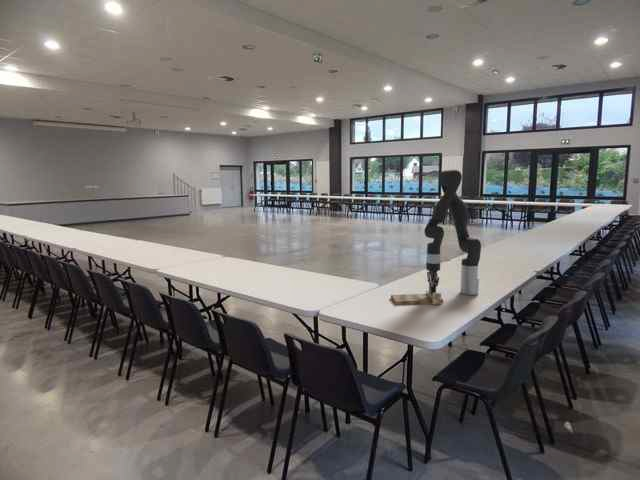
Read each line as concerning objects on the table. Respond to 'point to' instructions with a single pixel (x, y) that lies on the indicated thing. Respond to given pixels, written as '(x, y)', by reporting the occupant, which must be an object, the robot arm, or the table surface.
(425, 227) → the robot arm
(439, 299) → the cream flanged bar
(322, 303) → the table surface
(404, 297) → the board
